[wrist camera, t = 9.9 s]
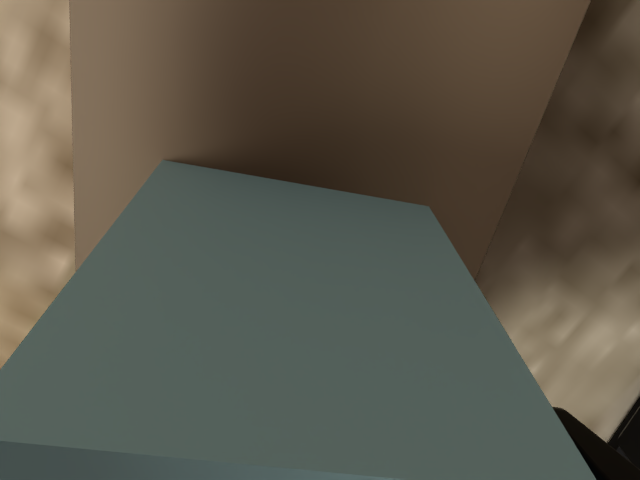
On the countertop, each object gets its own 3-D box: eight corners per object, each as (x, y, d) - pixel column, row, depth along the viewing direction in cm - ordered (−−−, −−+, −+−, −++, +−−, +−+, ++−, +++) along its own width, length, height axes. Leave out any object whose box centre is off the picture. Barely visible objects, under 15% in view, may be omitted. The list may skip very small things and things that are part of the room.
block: (429, 206, 9) (608, 498, 4) (365, 397, 12) (427, 747, 6) (162, 159, 9) (-52, 436, 3) (150, 371, 11) (10, 740, 6)
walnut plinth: (562, -197, 10) (715, -301, 6) (340, 466, 19) (351, 579, 15) (154, -322, 9) (56, -536, 5) (125, 445, 18) (82, 561, 14)
